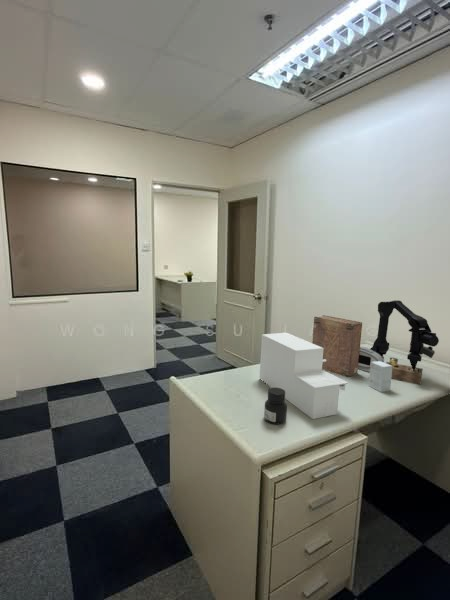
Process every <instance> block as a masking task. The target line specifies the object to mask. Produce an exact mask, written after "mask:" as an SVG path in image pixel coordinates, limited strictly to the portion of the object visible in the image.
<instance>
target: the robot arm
mask: <svg viewBox="0 0 450 600" xmlns="http://www.w3.org/2000/svg"><path fill="white" fill-rule="evenodd" d="M394 309H395V310H396V311H397V312H398V313H399V314H400V315H402V316H403V317H404V318H405V319H406V320H407V324H408V325H409V327H410V329H408V332H411V335H410V336H411V337H410V342H409V343H410V344H409V353H408V354H407V357H406V358H407V360H408V361H409V363H410V366H411V367H412V369H415V368H417V365H418V362H420V363H421V362H422V358H423V356H422V355H425V356H427V357H428V358H429V359H432V358H433V356H434V355H435V352H436V351H435V350H433V347H437V346H438V344H439V342H440V339H439V337H438V336H437V333H435V332H432V330H431V327H430V325H429V323H428V320H427V319H426V318H424V317H423V316H421V315H418V314H416V313H415V312H413V311H412V310H411V309H410V308H409V307H408V306H406V305H405V304H404V303H403V302H402V301H401V300H399V299H398V300H392V301H380V302H378V304H377V312H378V314H379V322H378V329H377V335H376V337H377V338H376V339H375V340H374V342H373V344H372V347H371V348H369V349H371V350H372V351H374V352H376V353H378V354H379V355H380V356H381V357H382V358H383V359H384V360H385V357H384V355H385V356H386V354H387V352H388V351H389V350H390V342H388V341H387V334H388V327H389V321H390V320H389V319H390V316H392V313H393V312H394ZM424 345H427V346H424Z"/></svg>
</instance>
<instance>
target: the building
mask: <svg viewBox="0 0 450 600" xmlns="http://www.w3.org/2000/svg"><path fill="white" fill-rule="evenodd" d="M260 347H261V348H260V361H259V362H260V363H259V380H260V379H262V380H263V381H264V382H265V383H266V384H265V383H264V382H263V381H262V382H263V383H264V384H265V385H267V384H268V385H269V386H270V387H269V386H268V385H267V386H268V387H269V388H281V389H283V390H284V391H285V400H286V401H288V402H289V403H290V404H292V405H293V406H294V407H296V408H297V409H298V410H299V411H301V412H303V413H304V414H305V415H306V416H308V417H309V418H311V419H312V420H314V419H321V418H324V417H329V416H334V415H338V408H339V396H340V390H342V391H343V392H344V391H345V392H346V385H348V384H349V382H348V381H346V380H344V379H342V378H340V377H338V376H336V375H335V374H332V373H330V372H328V371H327V370H324V369H323V368H322V363H323V362H326V361H327V360H326V359H323V349H324V348H322V347H320V346H317V345H315V344H313V343H312V342H311V341H307V340H306V339H303V338H300V337H298V336H295V335H293V334H291V333H288V332H277V333H265V334H261V345H260Z"/></svg>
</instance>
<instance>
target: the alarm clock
mask: <svg viewBox="0 0 450 600" xmlns="http://www.w3.org/2000/svg"><path fill="white" fill-rule="evenodd" d="M375 361H381V362H384V363H385V358H384V359H383V358H382V357H381V356H380V355H379V354H378V353H376V352H374V351H372V350H371V349H370V348H368V347H364V346H360V352H359V362H358V370H360V371H364V372H368V373H370V367H371V362H375Z"/></svg>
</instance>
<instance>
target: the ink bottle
mask: <svg viewBox="0 0 450 600" xmlns="http://www.w3.org/2000/svg"><path fill="white" fill-rule="evenodd" d="M285 400H286V399H285V391H284V390H283V389H281V388H271V387H269V388H268V390H267V399H266V401H265V402H264V411H263V413H264V414H263V416H264V417H263V418H264V420H265V421H266V422H267V423H268V424H271V425H282V424H285V423H286V422H287V419H288V418H287V417H288V416H287V414H288V413H287V412H288V404H287V403H286V402H285Z"/></svg>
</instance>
